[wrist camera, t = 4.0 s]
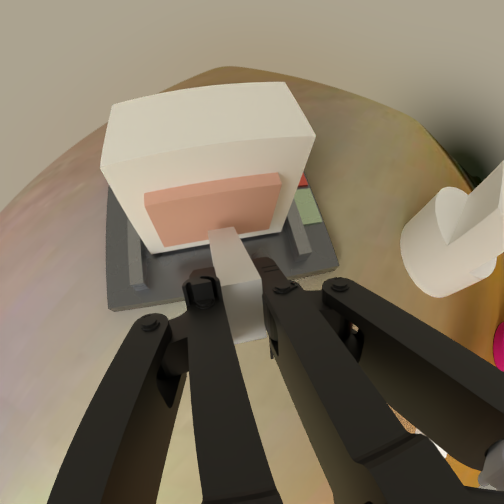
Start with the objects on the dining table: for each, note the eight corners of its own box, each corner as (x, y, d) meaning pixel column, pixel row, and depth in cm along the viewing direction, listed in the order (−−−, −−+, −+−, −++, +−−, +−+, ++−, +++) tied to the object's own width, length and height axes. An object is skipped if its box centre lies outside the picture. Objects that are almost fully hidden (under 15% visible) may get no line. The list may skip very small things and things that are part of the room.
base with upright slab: (419, 203, 26) (481, 133, 15) (468, 258, 24) (539, 208, 13) (385, 251, 23) (468, 175, 12) (442, 316, 21) (538, 274, 10)
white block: (152, 264, 19) (97, 181, 10) (148, 199, 21) (112, 104, 12) (283, 241, 21) (322, 147, 11) (265, 180, 23) (284, 81, 14)
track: (114, 311, 19) (79, 292, 14) (117, 146, 25) (103, 107, 20) (334, 270, 22) (363, 241, 16) (276, 122, 28) (284, 82, 23)
